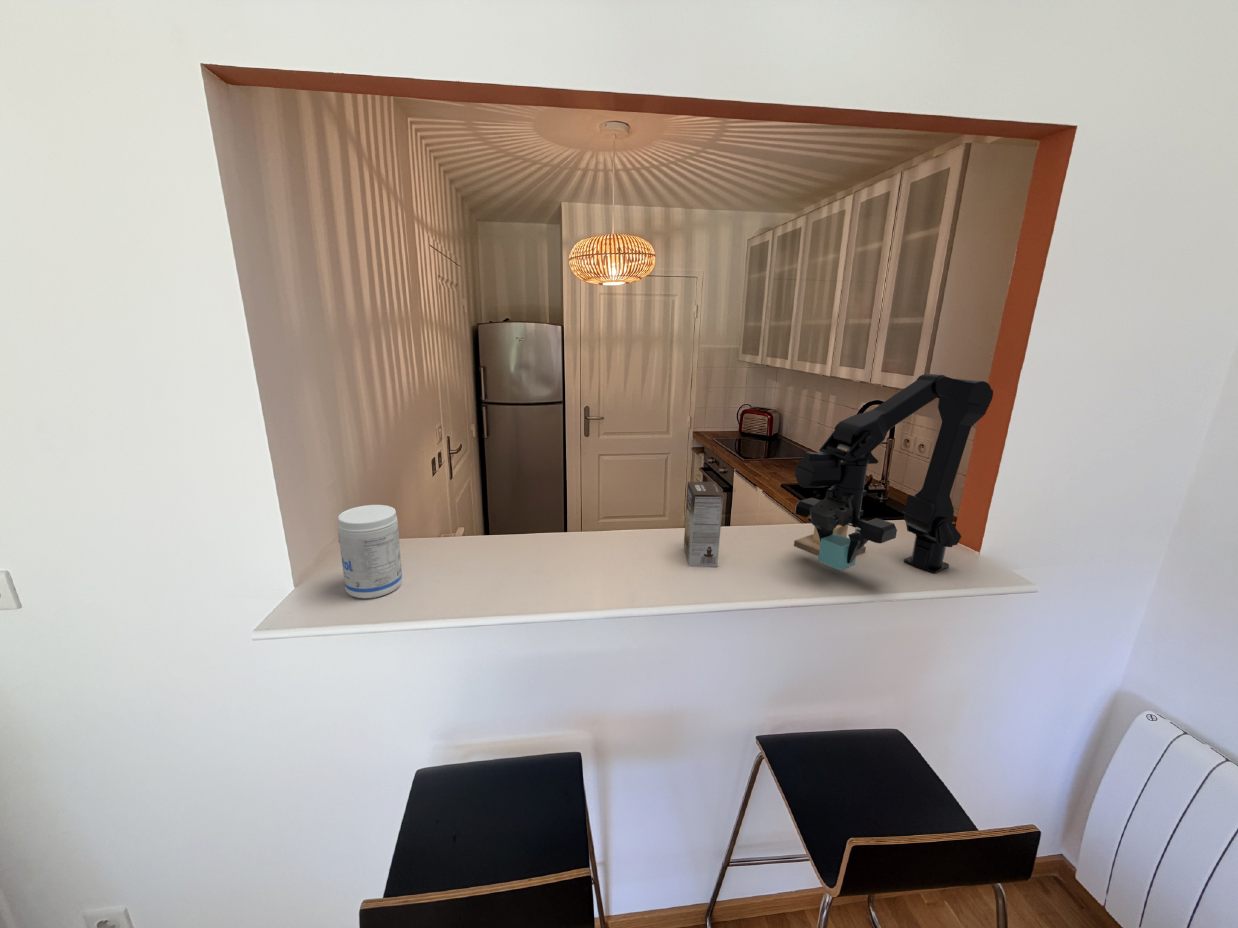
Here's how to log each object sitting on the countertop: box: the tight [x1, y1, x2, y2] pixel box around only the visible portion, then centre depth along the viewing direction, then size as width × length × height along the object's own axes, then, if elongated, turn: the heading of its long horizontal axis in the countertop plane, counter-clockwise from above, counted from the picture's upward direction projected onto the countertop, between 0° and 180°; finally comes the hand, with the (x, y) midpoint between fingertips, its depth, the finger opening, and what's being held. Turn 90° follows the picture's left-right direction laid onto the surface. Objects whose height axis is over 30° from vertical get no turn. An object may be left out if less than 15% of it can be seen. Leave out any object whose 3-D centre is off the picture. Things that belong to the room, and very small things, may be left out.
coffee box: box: [683, 481, 724, 568], centre depth 104 cm, size 9×6×16 cm
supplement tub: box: [337, 504, 403, 599], centre depth 89 cm, size 10×10×15 cm
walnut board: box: [793, 533, 867, 557], centre depth 113 cm, size 11×11×2 cm
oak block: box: [813, 525, 849, 545], centre depth 112 cm, size 5×5×5 cm
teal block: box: [817, 534, 857, 571], centre depth 100 cm, size 5×5×5 cm
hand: (837, 557), depth 100 cm, fingers closed on teal block, 5 cm apart
